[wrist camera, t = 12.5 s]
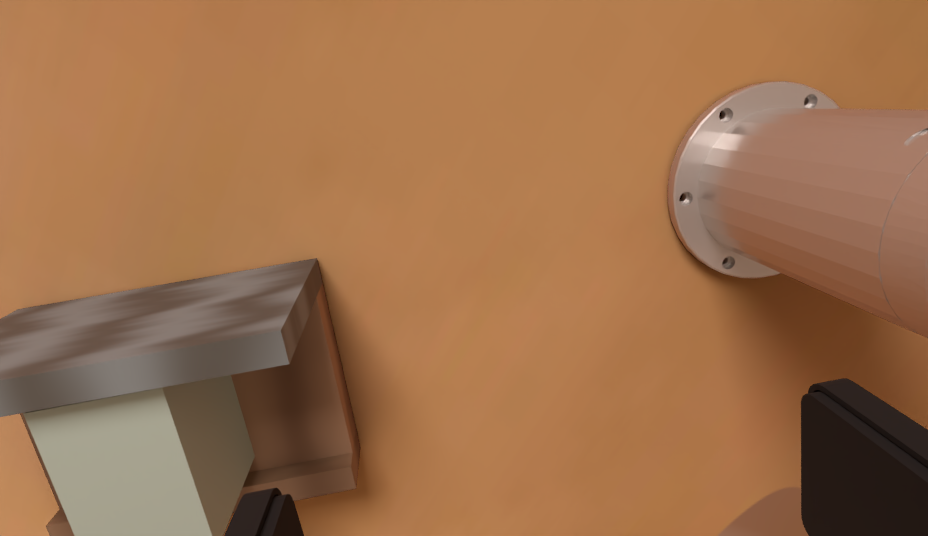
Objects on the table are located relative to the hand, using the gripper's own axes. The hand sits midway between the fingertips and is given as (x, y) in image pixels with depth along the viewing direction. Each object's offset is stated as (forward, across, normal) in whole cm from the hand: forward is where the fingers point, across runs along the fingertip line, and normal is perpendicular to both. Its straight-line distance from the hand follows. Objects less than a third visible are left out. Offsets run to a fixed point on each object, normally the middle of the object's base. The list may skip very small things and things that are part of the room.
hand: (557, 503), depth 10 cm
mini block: (+24, +18, +7) cm, 31 cm away
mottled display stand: (+27, +18, +8) cm, 33 cm away
